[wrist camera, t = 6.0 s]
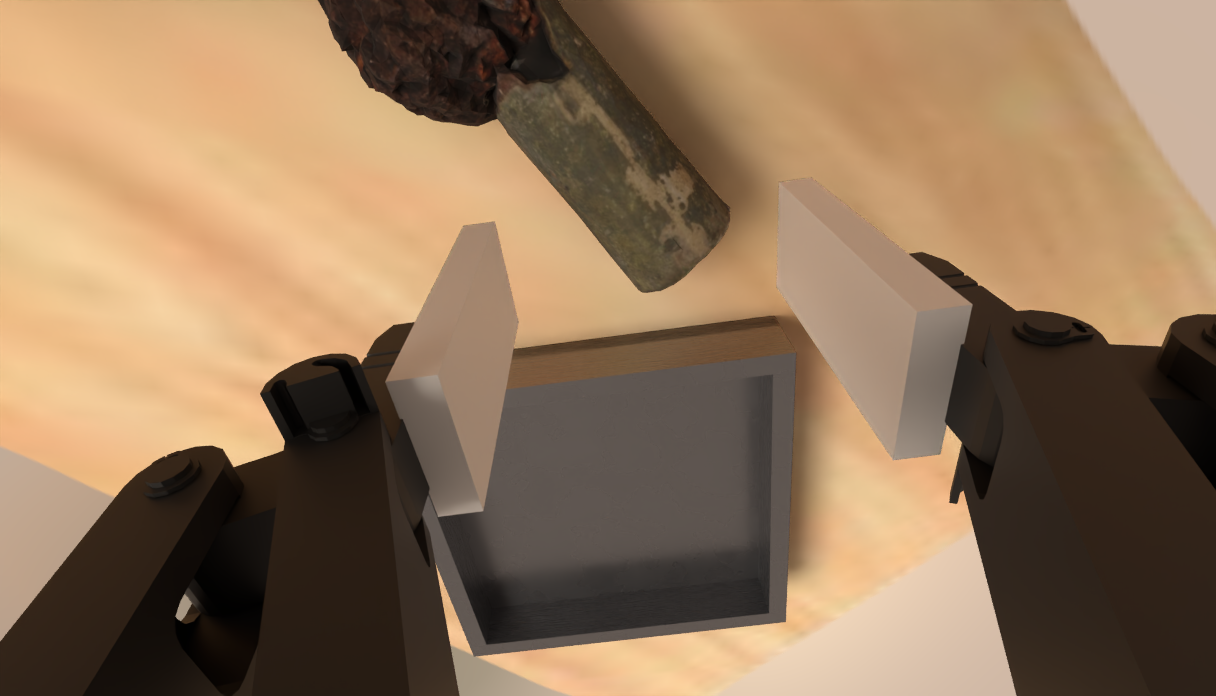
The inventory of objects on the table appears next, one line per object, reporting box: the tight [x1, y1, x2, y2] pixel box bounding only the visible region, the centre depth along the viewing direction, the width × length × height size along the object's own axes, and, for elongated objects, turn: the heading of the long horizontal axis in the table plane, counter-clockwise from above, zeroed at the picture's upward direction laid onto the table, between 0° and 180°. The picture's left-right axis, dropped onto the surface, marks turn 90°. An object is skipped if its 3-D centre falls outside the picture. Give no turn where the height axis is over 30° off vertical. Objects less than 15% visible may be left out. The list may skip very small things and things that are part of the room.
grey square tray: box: [422, 316, 796, 656], centre depth 32 cm, size 19×19×4 cm
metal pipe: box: [318, 0, 730, 293], centre depth 20 cm, size 18×7×6 cm, turn 40°
